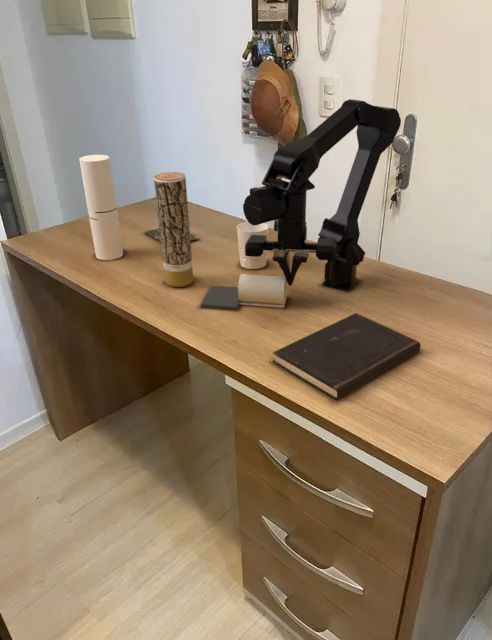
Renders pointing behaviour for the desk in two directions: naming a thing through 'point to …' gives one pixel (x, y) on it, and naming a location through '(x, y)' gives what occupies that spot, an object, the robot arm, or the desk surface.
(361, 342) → the hardcover book
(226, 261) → the desk surface
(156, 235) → the eiffel tower figurine
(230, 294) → the slate coaster
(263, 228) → the white cup
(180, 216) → the brown bark cylinder
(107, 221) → the cylindrical container
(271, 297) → the cylinder
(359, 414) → the desk surface
